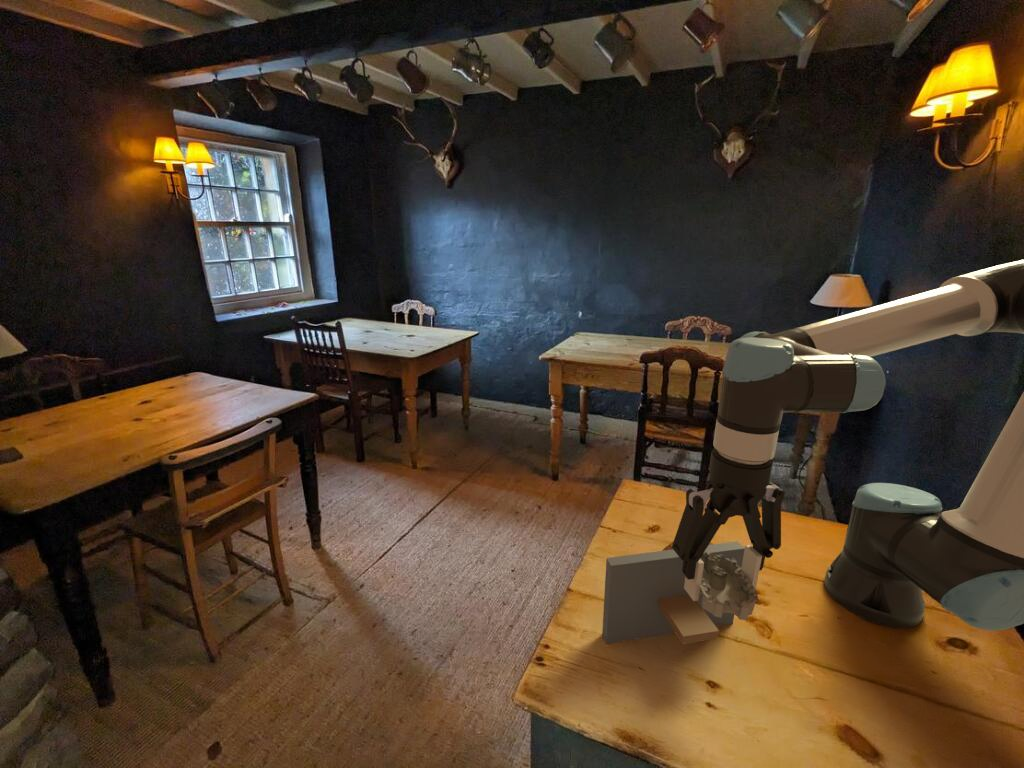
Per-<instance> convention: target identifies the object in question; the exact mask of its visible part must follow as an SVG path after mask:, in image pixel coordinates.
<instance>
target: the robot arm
mask: <svg viewBox="0 0 1024 768" xmlns="http://www.w3.org/2000/svg"><path fill="white" fill-rule="evenodd" d="M985 333H1014V334H1015V333H1016V334H1024V259H1020V260H1016V261H1012V262H1006V263H1002V264H998V265H995V266H991V267H987V268H983V269H979V270H976V271H971V272H969V273H965V274H961V275H958V276H955V277H954V276H953V277H951V278H949V279H947V280H946V281H944V282H942V284H941V285H940V286H939V287H938V288H935V289H931V290H928V291H925V292H920V293H917V294H913V295H911V296H906V297H902V298H898V299H896V300H892V301H889V302H885V303H882V304H878V305H875V306H870V307H867V308H864V309H860V310H856V311H854V312H853V311H852V312H850V313H846V314H843V315H838V316H835V317H832V318H827V319H824V320H821V321H817V322H814V323H810V324H806V325H804V326H803V325H802V326H800V327H795V328H792V329H787V330H784V331H780V332H777V333H773V334H772V333H769V332H766V331H750V332H747V333H745V334H743V335H742V336H741V337H739V338H736V339H735V340H733V341H731V342H730V344H729V345H728V347H727V352H726V355H725V359H724V364H723V368H722V370H721V371H722V372H721V375H722V377H721V387H720V394H719V400H718V409H717V415H716V421H715V422H716V423H715V429H714V434H713V435H714V436H713V443H712V444H713V447H714V448H713V449H712V450H711V454H710V460H709V461H710V462H709V468H708V473H709V482H708V485H707V486H706V487H705V489H704V490H698V491H695V490H693V489H692V488H691V489H687V490H686V492H685V507H684V510H683V512H682V516H681V518H680V522H679V525H678V528H677V531H676V533H675V536H674V539H673V541H674V542H673V541H672V542H673V545H672V549H673V550H674V551H675V552H676V554H677V555H678V556H679V557H680V559H681V560H683V567H682V572H683V574H684V575H685V576H686V577H685V584H684V589H685V590H686V592H687V593H688V594H689V596H690V597H691V598H692V600H693V601H698V599H699V593H700V585H701V580H702V573H703V567H704V562H703V561H702V560H701V559H700V558H701V556H702V555H703V553H704V551H705V550H706V548H707V547H708V545H709V543H712V540H713V539H714V537H715V535H716V534H717V532H718V531H719V529H720V528H721V526H722V525H725V524H726V523H727V522H728V520H729V519H730V518H732V517H736V516H740V517H742V519H743V522H744V525H745V528H746V532H747V534H748V538H749V541H750V544H745V545H744V548H745V550H744V556H743V561H742V567H741V569H742V570H743V571H744V572H745V573H746V576H747V578H748V580H749V581H750V583H751V585H753V587H754V588H755V591H757V589H756V588H757V585H758V579H759V574H760V571H762V570H763V569H764V567H765V560H766V558H767V559H770V558H772V556H773V555H774V552H773V551H772V550H771V549H774V550H779V549H780V548H781V547H782V504H783V501H784V497H785V494H786V492H785V491H784V490H783V488H780V487H779V486H777V484H774V483H773V482H772V481H770V480H771V477H772V469H773V465H774V462H773V458H775V455H776V450H777V449H776V448H777V445H778V444H777V443H778V439H779V438H778V437H779V432H780V429H781V428H780V427H781V423H782V420H783V415H784V413H795V414H796V413H839V414H846V413H849V412H850V413H851V412H861V411H866V410H869V409H871V408H873V407H874V406H876V405H878V403H879V402H880V401H881V399H882V397H883V395H884V392H885V387H886V383H887V382H886V375H885V373H884V370H883V368H882V366H881V365H880V364H879V362H878V361H877V360H875V359H874V358H873V357H875V356H878V355H883V354H885V353H886V354H887V353H889V352H894V351H897V350H901V349H905V348H909V347H912V346H916V345H919V344H923V343H926V342H930V341H934V340H937V339H942V338H945V337H949V336H952V335H959V336H962V337H974V336H978V335H982V334H985ZM1006 421H1007V422H1006V423H1005V425H1004V426H1003V428H1002V430H1001V432H1000V434H999V435H998V438H997V439H996V441H995V443H994V445H993V446H992V448H991V450H990V452H989V454H988V455H987V458H986V459H985V461H984V463H983V464H982V467H981V468H980V470H979V472H978V473H977V475H976V477H975V479H974V481H973V483H972V484H971V486H970V488H969V490H968V492H967V494H966V495H965V497H964V499H963V501H962V502H961V504H960V507H958V508H956V509H955V508H954V509H950V510H945V511H943V507H942V506H943V504H942V501H941V500H940V499H939V498H938V497H937V496H936V495H934V494H932V493H930V492H927V491H925V490H922V489H919V488H916V487H913V486H908V485H903V484H897V483H890V482H889V483H888V482H871V483H867V484H864V485H861V486H860V487H859V488H858V489H857V492H856V494H855V498H854V500H853V502H852V504H851V510H850V514H849V519H848V524H847V529H846V534H845V537H844V545H843V548H842V550H841V552H839V553H838V555H837V556H836V557H835V559H834V560H833V561H832V563H830V565H829V566H828V567H827V569H826V572H825V577H824V581H823V582H824V587H825V590H826V592H827V593H828V594H829V595H830V596H831V598H833V600H834V601H835V602H837V603H838V604H839V605H840V606H841V607H843V608H845V609H846V610H847V611H849V612H851V613H852V614H854V615H856V616H858V617H859V618H862V619H864V620H867V621H868V622H871V623H875V624H879V625H882V626H886V627H890V628H898V629H901V628H902V629H906V628H913V627H915V626H917V625H919V624H920V623H921V622H922V620H923V618H924V614H925V610H926V602H925V599H924V595H923V592H924V593H925V594H927V595H928V596H929V597H930V598H932V599H933V600H934V601H935V602H937V603H938V604H939V605H940V606H941V607H942V608H943V609H944V610H945V611H947V612H948V613H951V614H953V615H954V616H956V617H957V618H959V619H960V620H961V621H963V622H964V623H966V624H967V625H969V626H970V627H972V628H976V629H978V630H983V631H1003V630H1007V629H1012V628H1015V627H1017V626H1021V625H1023V624H1024V391H1023V392H1022V394H1021V396H1020V397H1019V399H1018V401H1017V403H1016V405H1015V407H1014V408H1013V410H1012V412H1011V414H1010V416H1009V418H1008V419H1007V420H1006ZM760 501H761V512H760V510H759V506H758V504H759V503H760Z"/></svg>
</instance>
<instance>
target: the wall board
mask: <svg viewBox="0 0 1024 768" xmlns="http://www.w3.org/2000/svg"><path fill="white" fill-rule="evenodd" d="M744 550H745V546H743V545H742V544H741V543H740V542H739V541H738V540H737V541H729V542H720V543H712V545H708V547H707V548H706V550H705V551H704V553H705V552H707V553H710V554H713V553H714V554H716V555H721V554H722V555H723V556H724V557H725V558H728V559H729V558H731V557H734V559H736V561H737V566H740V568H741V567H742V561H743V556H744ZM605 563H606V564H605V579H604V598H603V617H602V631H601V632H602V634H601V635H602V637H603V639H604V641H605V644H606V645H607V644H614V643H619V642H621V643H622V642H625V641H633V640H638V639H644V638H653V637H657V636H664V635H669V634H670V635H671V634H675V635H676V636H677V638H678V639H679V641H680V642H681V644H682V645H685V644H691V643H692V644H693V643H698V642H705V641H709V640H716V639H719V633H720V630H719V629H718V627H722V626H726V625H727V626H728V625H733V624H734V619H735V615H734V614H732V613H723V614H722V617H721V618H720V617H715V616H714V615H713V614H712V613H710V612H708V611H707V610H705V609H703V608H702V598H703V594H700V593H699V599H698V601H693V600H692V598H691V597H690V596H689V594H688V593H687V592H686V590H685V589H684V584H685V577H686V576H685V575H684V574H683V572H682V567H683V560H681V559H680V557H679V556H678V555H677V554H676V552H675V551H674V550H673V549H672V550H664V551H662V550H657V551H651V552H642V553H635V554H627V555H618V556H611V557H606V561H605Z"/></svg>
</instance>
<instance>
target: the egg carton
mask: <svg viewBox="0 0 1024 768" xmlns="http://www.w3.org/2000/svg"><path fill="white" fill-rule="evenodd" d="M700 559H701V560H702V561H703V562H704V567H703V573H702V580H701V585H700V594H703V598H702V608H703V609H705V610H707V611H708V612H710V613H712V614H713V615H714V616H715V617H720V618H721V617H722V614H723V613H732V614H734V616H736V617H737V618H738V620H741V621H747V620H748V617H749V616H751V615H752V614H753V613H754V612H753V611H754V609H755V606H756V603H755V602H759V596H758V591H757V590H755V588H754V587H753V585H751V583H750V581H749V580H748V578H747V576H746V573H745V572H744V571H743V570H742V569H741V568H740V566H737V561H736V559H734V557H731V558H729V559H728V558H725V557H724V556H723V555H722V554H721V555H716V554H714V553H713V554H710V553H707V552H705V553H703V555H702V556H701V558H700Z"/></svg>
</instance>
